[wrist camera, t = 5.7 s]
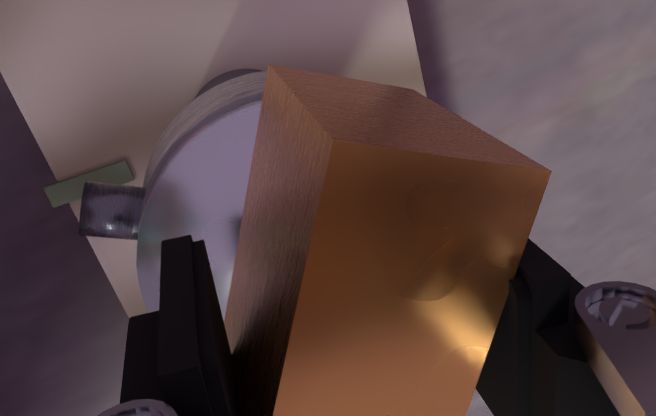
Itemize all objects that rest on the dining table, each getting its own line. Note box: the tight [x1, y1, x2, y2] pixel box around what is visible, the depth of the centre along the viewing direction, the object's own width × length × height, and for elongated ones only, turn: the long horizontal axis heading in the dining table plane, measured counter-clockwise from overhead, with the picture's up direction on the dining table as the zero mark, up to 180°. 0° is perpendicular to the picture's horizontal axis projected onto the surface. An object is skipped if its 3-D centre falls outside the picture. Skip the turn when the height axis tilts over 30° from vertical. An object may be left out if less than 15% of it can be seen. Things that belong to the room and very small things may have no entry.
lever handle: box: [79, 64, 552, 416], centre depth 12 cm, size 8×8×8 cm
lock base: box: [0, 0, 427, 319], centre depth 20 cm, size 24×14×9 cm, turn 16°
